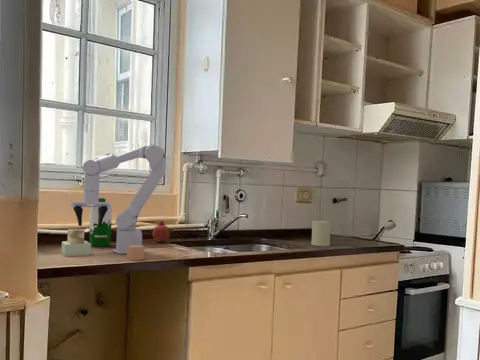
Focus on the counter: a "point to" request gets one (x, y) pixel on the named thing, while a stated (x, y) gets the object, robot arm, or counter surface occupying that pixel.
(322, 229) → the can
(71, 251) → the sage block
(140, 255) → the terracotta cube
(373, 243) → the counter surface
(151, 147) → the robot arm
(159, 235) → the fruit
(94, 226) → the milk carton
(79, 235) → the maple cube
